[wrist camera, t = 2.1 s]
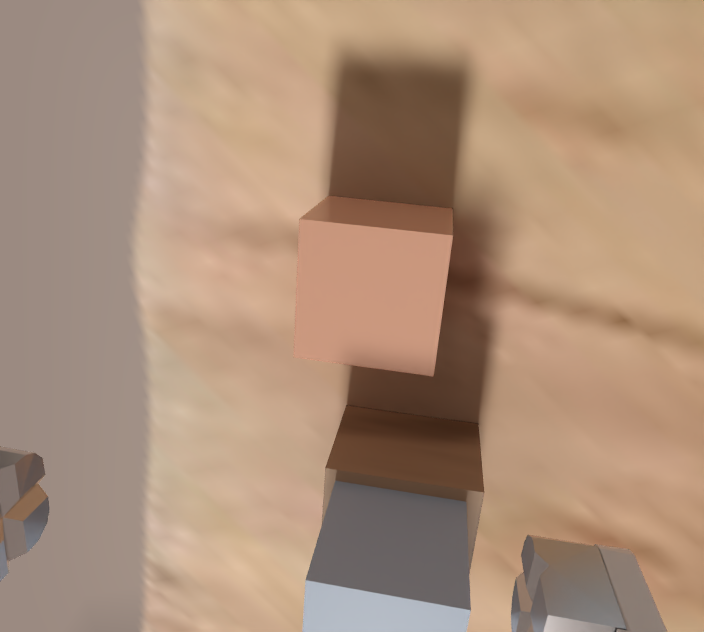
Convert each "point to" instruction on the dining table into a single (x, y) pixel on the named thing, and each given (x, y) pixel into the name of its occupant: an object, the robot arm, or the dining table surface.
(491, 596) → the dining table surface
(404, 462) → the tower base
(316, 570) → the tower mid
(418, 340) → the cube
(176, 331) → the dining table surface
